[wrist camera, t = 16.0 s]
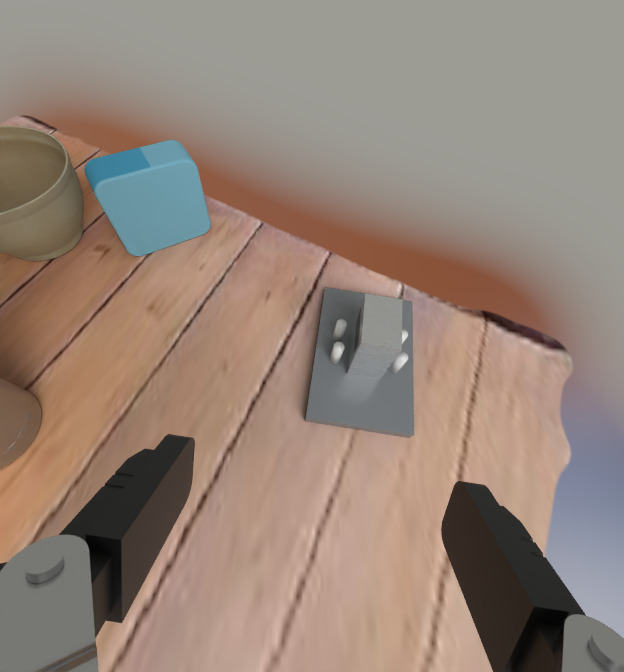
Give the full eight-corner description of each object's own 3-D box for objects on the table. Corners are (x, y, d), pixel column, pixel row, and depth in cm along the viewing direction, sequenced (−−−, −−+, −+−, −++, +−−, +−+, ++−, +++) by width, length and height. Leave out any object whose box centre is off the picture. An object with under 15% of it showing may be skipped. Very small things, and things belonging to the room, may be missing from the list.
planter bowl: (-49, 265, 43) (-141, 195, 34) (31, 188, 51) (-26, 113, 42) (66, 296, 43) (4, 233, 33) (129, 212, 51) (94, 142, 41)
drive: (346, 373, 39) (360, 342, 32) (350, 330, 42) (364, 293, 35) (380, 379, 39) (402, 349, 32) (382, 335, 42) (403, 299, 35)
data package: (201, 213, 52) (181, 136, 41) (213, 232, 50) (195, 156, 40) (122, 238, 48) (78, 161, 38) (132, 260, 46) (89, 185, 36)
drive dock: (305, 421, 38) (308, 408, 33) (323, 293, 46) (328, 270, 42) (409, 437, 38) (426, 427, 33) (408, 307, 46) (421, 285, 42)
